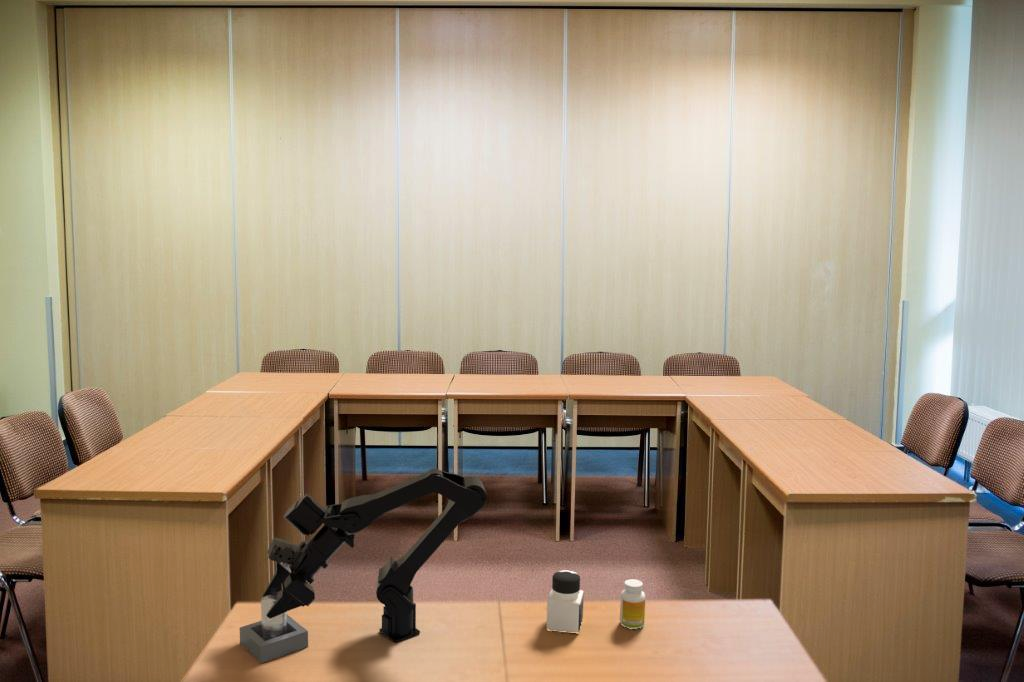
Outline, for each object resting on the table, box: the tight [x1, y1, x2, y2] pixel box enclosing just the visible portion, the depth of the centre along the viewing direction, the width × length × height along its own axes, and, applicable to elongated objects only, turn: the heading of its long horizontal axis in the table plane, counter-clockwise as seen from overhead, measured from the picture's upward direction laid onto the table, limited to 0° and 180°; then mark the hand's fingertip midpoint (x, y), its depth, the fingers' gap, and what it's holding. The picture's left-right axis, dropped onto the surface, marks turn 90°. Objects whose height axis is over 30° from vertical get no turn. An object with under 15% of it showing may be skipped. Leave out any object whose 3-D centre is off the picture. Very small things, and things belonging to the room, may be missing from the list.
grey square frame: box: [239, 614, 309, 664], centre depth 171 cm, size 10×10×4 cm
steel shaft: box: [260, 593, 288, 641], centre depth 171 cm, size 5×5×10 cm
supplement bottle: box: [619, 578, 646, 629], centre depth 183 cm, size 5×5×10 cm
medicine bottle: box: [546, 569, 585, 633], centre depth 181 cm, size 7×7×12 cm
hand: (266, 607), depth 170 cm, fingers open, 9 cm apart
